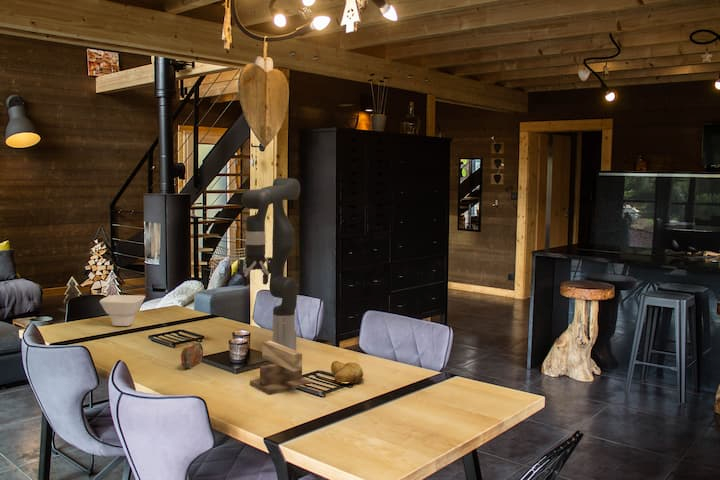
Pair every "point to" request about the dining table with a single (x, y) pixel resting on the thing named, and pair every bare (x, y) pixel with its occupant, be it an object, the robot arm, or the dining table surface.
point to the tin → (192, 355)
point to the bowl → (122, 308)
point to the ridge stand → (278, 379)
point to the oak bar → (282, 355)
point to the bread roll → (346, 372)
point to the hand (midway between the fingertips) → (255, 285)
